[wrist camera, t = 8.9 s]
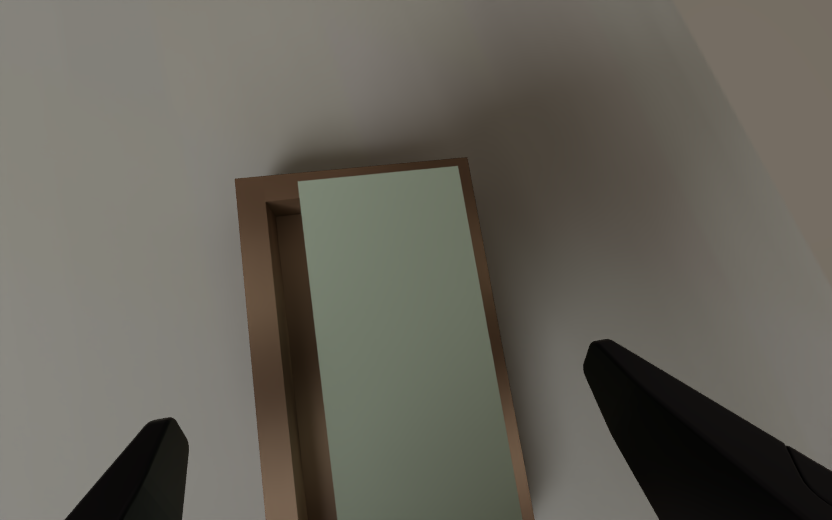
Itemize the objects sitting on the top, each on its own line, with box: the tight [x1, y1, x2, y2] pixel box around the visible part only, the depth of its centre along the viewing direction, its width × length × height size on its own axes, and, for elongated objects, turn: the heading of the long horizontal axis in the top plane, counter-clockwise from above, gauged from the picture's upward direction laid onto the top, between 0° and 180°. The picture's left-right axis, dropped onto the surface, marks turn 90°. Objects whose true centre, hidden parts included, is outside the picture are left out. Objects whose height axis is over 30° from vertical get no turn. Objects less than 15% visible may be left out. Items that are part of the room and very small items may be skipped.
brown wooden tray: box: [235, 157, 535, 520], centre depth 16 cm, size 16×9×3 cm, turn 9°
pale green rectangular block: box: [298, 166, 523, 520], centre depth 12 cm, size 9×3×10 cm, turn 9°
